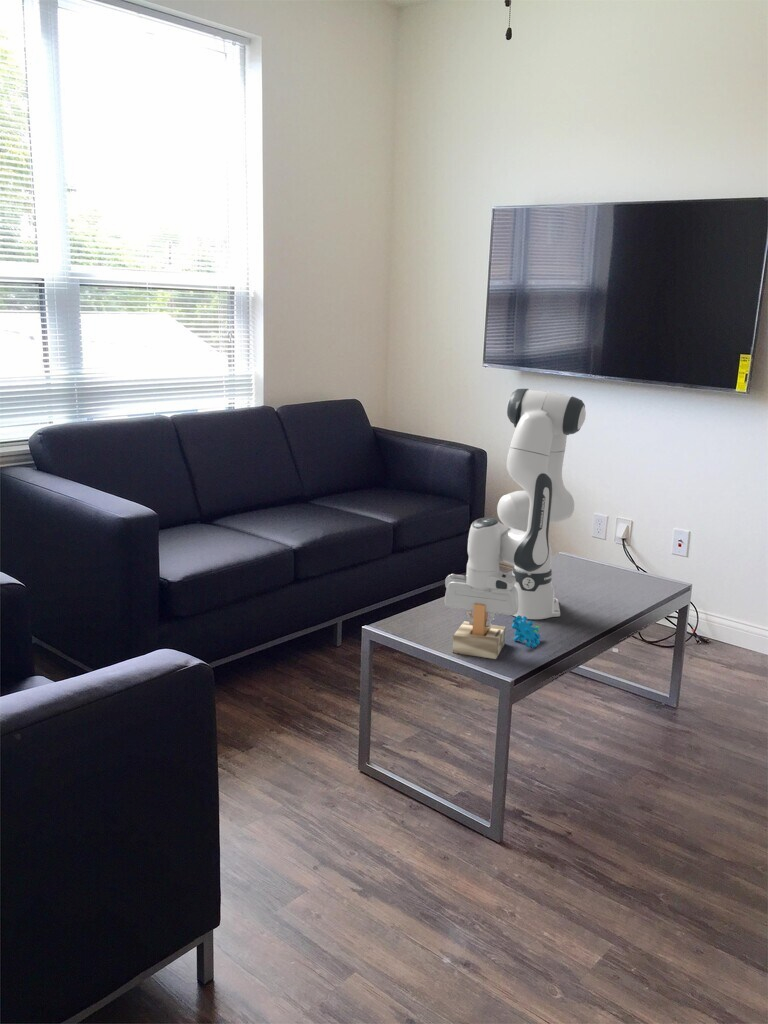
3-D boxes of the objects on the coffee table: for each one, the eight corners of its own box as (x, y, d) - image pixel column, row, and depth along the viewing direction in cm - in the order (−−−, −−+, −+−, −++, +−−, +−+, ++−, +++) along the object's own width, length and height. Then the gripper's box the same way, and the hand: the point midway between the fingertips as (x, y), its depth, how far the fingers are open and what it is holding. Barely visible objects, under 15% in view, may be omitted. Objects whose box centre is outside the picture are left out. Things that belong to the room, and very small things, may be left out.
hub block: (463, 637, 247) (464, 620, 246) (504, 643, 244) (505, 626, 242) (452, 652, 236) (453, 634, 235) (495, 659, 232) (496, 640, 231)
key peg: (472, 635, 237) (473, 604, 235) (476, 629, 242) (478, 598, 240) (482, 637, 236) (484, 605, 234) (486, 631, 241) (488, 600, 239)
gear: (526, 647, 237) (509, 615, 241) (511, 657, 240) (495, 626, 244) (550, 643, 244) (533, 612, 248) (535, 653, 248) (519, 622, 252)
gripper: (442, 576, 236) (440, 624, 239) (517, 585, 229) (514, 634, 232) (448, 570, 241) (446, 616, 245) (521, 578, 235) (518, 626, 238)
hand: (480, 625), depth 238 cm, fingers closed on key peg, 3 cm apart
